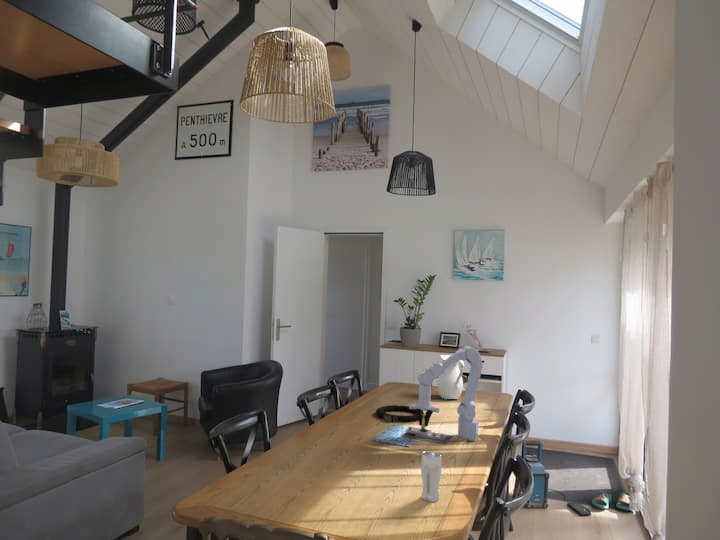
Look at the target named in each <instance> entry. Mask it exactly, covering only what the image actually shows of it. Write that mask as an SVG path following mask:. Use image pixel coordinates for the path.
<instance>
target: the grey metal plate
mask: <svg viewBox="0 0 720 540" xmlns="http://www.w3.org/2000/svg"><path fill="white" fill-rule="evenodd" d="M406 432H407V433H413V434H416V437H422V438H429V439H435V440H442V441H445V440H446V439H447V435H448V434H446V435H445V433H439V434H437V432H433V433H431V432H432V429H427V428H426V432H421V427H420V428H419V427H413V426H408V427H407V428H406V429H405V433H406Z"/></svg>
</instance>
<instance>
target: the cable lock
mask: <svg viewBox="0 0 720 540" xmlns="http://www.w3.org/2000/svg"><path fill="white" fill-rule="evenodd" d="M415 411H416V409H409V405H408V406H407V405H397V404H394V405H383V406H380V407H378V408H377V409H376V411H375V415H376V416H377V417H378V418H380V419H382V420H384V421H385V422H386V423H414V422H419V420H418V417H417V415H416V413H415ZM389 412H390V413H391V412H404V413H410V415H404V414H403V415H401V414H400V415H398V414H390V413H389ZM411 414H412V415H411ZM423 414H425V412H424V411H423Z"/></svg>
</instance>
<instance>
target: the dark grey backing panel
mask: <svg viewBox="0 0 720 540" xmlns="http://www.w3.org/2000/svg"><path fill="white" fill-rule="evenodd" d="M431 433H434V432H432V431H431ZM436 433H437V432H436ZM437 434H440V433H439V432H438V433H437ZM444 434H445V433H444ZM445 435H447V439H446V440H445V441H442V440H435V439H429V438H422V437H416V434H413V433H407V432H406V431H405V433H404V434H402V435H401V436H400V438H402V439H403V438H404V439H410V440H413V441H414V440H416V441H420V442H421V441H423V442H429V443H432V444H433V443H435V444H441V445H447V444H448V443H449V442H450V441H451V440H452V439H453V437H454V435H453V434H452V435H451V434H445Z"/></svg>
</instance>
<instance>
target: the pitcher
mask: <svg viewBox="0 0 720 540" xmlns="http://www.w3.org/2000/svg"><path fill="white" fill-rule="evenodd" d="M451 355H452V354H446V355H442V354H440V356H439V357H440V358H441V360H442V362H443V361H445V360H446V359H447V358H449V357H450V356H451ZM459 365H460V367H459ZM464 372H465V363H464V360H459V361H457V362H456V363H454V364H452V365H451V366H449V367H447V368H446V369H445V372H444V373H443V374H442V375H440V376H439V377H437V382H436V383H437V387H436V388H437V392H438V394H439V396H440V398H441V397H442V398H441V399H443V398H444V399H443V400H447V399H457V400H459V398H460V397H461V395H462V393H463V390H464V381H463V376H462V375H463V373H464Z"/></svg>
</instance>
